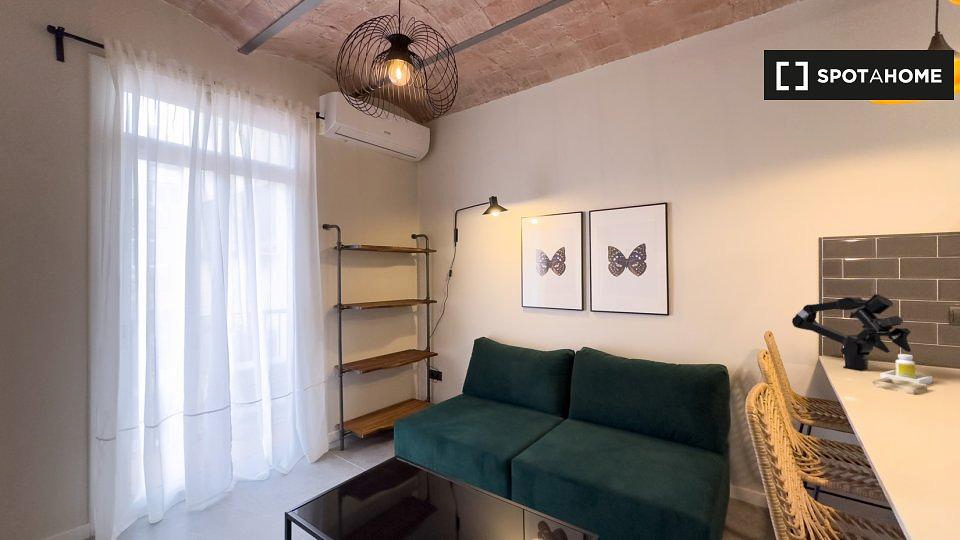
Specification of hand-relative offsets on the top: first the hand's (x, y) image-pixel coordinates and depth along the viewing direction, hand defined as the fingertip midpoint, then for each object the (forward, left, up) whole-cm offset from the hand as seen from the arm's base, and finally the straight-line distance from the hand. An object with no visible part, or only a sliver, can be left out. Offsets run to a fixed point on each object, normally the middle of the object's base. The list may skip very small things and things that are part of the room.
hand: (899, 351), depth 157 cm
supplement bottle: (+2, -1, -11) cm, 11 cm away
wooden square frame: (+5, -15, -11) cm, 19 cm away
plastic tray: (+2, -1, -11) cm, 11 cm away
